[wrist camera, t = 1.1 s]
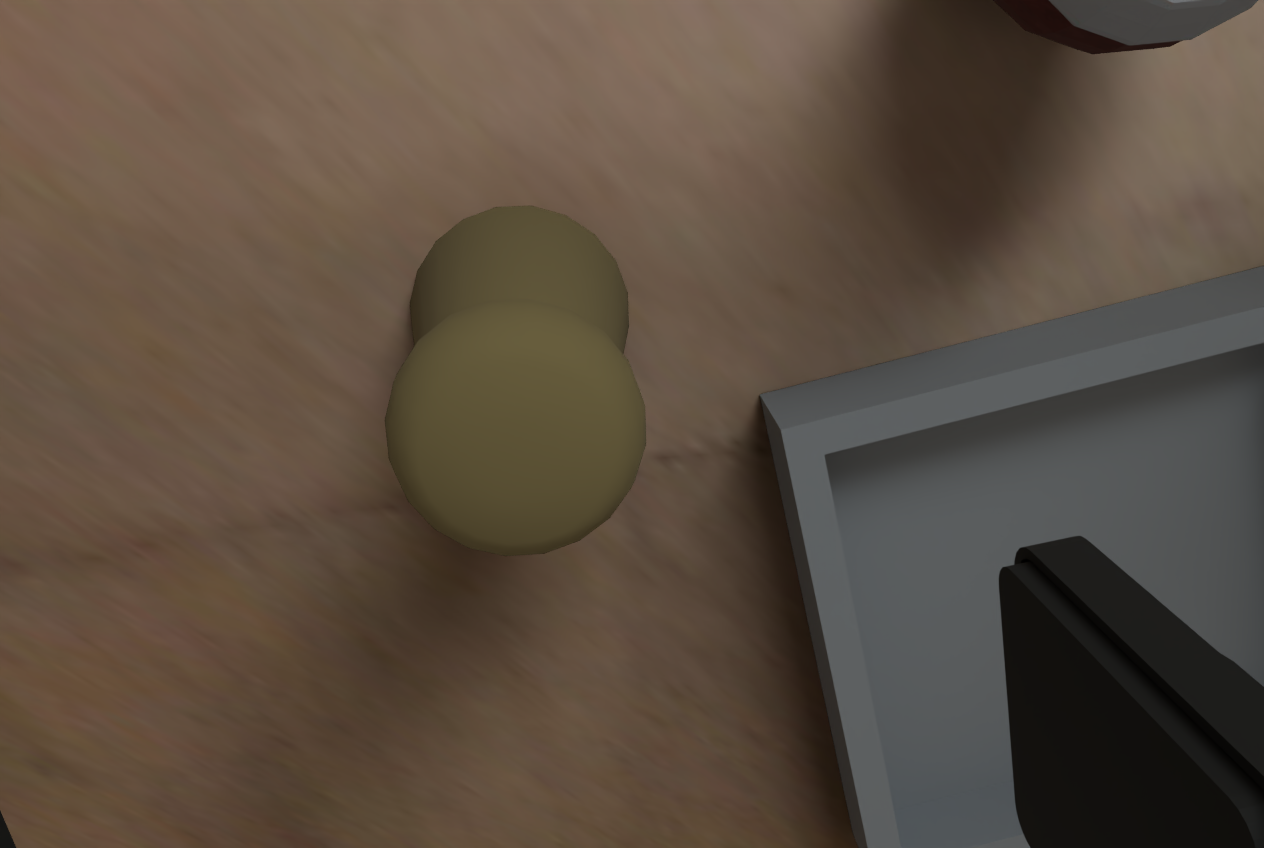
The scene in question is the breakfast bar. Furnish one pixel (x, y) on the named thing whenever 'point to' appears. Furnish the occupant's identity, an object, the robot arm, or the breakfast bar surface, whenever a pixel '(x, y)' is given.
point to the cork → (517, 385)
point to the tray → (1013, 527)
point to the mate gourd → (1121, 21)
